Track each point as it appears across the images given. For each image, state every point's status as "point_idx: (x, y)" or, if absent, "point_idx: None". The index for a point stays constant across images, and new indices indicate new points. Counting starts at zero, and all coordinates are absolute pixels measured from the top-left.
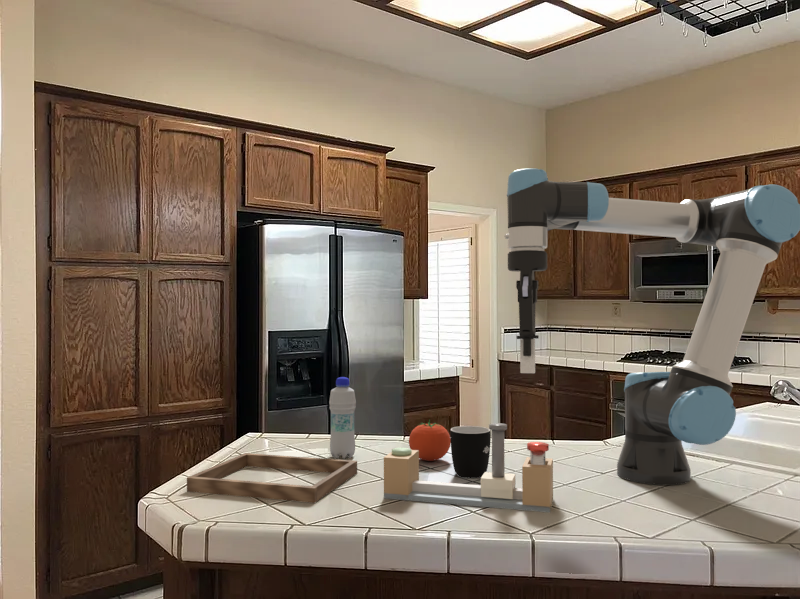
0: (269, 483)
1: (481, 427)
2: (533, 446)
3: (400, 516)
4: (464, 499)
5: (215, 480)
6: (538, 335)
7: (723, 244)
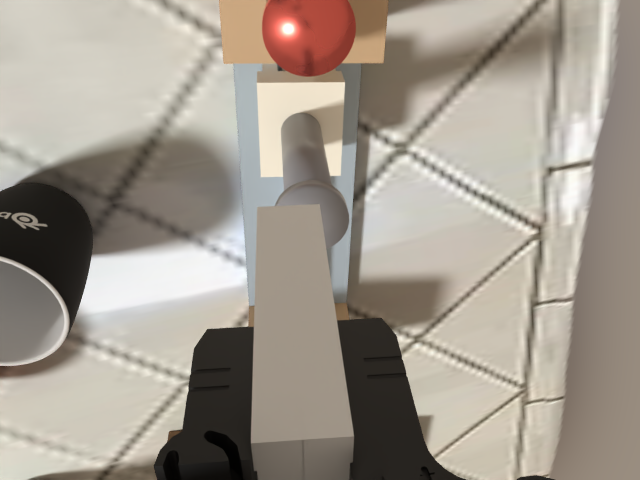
0: None
1: None
2: (352, 44)
3: (461, 278)
4: (352, 185)
5: None
6: (163, 463)
7: None
